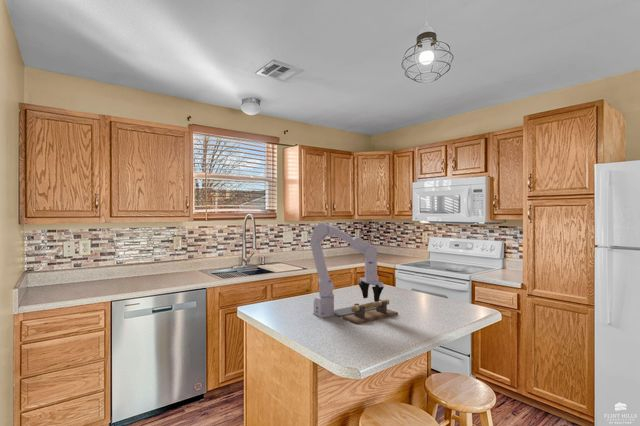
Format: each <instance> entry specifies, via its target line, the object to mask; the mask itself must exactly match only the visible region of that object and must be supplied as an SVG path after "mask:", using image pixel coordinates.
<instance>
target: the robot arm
mask: <svg viewBox="0 0 640 426" xmlns="http://www.w3.org/2000/svg"><path fill="white" fill-rule="evenodd" d="M327 236H328V237H331V236H333V237H337V238H339V239H340V240H342V241H344V242H346V243H348V244H349V247H350V248H352V249H353V250H355V251H357V252H358V253H360V254H364V256H365V258H364V260H365V261H364V277H359V279H358V281H359V283H358V286H359V288H360V290H361V293H362V296H363V297H362V298H363V299H368V298H369V288H370V285H371V289H372V292H373V300H374V301H373V302H378V301H379V299H380V297H381V294H382V293H383V292H382V291H383V290H384V282H382V281H381V280H379V279H378V261H377V260H378V257H377V256H378V249H377V247H376V246H375V245H374V244H371V243H370V242H367V241H365V240H364V239H362V237H361V236H359V237H358V236H354V237H352V236H351V235H349V234H348V233H346V232H344V231H343V230H341V229H339V228H337V227H336V226H333V225H331V224H328V223H327V222H322V223H318V224H317V225H315V227H314V228H313V230H312V234H311V238H310V239H309V240H310V241H309V245H310V248H311V252H312V257H313V260H314V264H315V269H316V273H317V276H318V277H317V278H318V296H317V297H315V298H314V300H313V312H312V315H315V316H316V317H319V318H321V319H323V318H328V317H333V316H335V314H334V310H335V295H334V293H333V291H334V290H335V284H334V282H333V281H332V280H331V276H330V275H329V272H328V268H327V263H326V259H325V255H324V252H323V247H322V244H321V243H322V242H323V241H324V239H325V238H326V237H327Z"/></svg>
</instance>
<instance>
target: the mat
mask: <svg viewBox="0 0 640 426" xmlns="http://www.w3.org/2000/svg"><path fill="white" fill-rule="evenodd" d="M351 307H352V306H347V307H342V308H337V309H334V314H335V315H334V316H336V317H338V318H343V316H347V315H351V314H354V312H352V310H351ZM374 309H376V307H374V308H369V309H365V311H370V310H374Z"/></svg>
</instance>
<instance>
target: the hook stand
mask: <svg viewBox="0 0 640 426" xmlns="http://www.w3.org/2000/svg"><path fill="white" fill-rule="evenodd" d="M379 301H381V299H380V298H379ZM356 305H360V304H359V303H354V305H353V306H356ZM398 315H399V313H398V312H397V311H395V310H392V309H388V305H387V301H383V302H382V306H379V307H376V309H374V310H370V311H365V306H364V305H363V306H360V311H355V312H354V314H351V315H347V316H342V319H343V320H345V321H348V322H350V323H352V324H354V325H360V324H365V323H368V322H373V321H378V320H381V319H385V318H389V317H393V316H398Z"/></svg>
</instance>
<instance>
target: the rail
mask: <svg viewBox="0 0 640 426" xmlns="http://www.w3.org/2000/svg"><path fill="white" fill-rule="evenodd" d="M380 300H381V299H380ZM383 301H387V306H388V305H390V300H389V299H382V300H381V301H378V302H375V301H373V302H368V303H367V302H366V303H362V304H359V305H356V306H354V305H352V306H350V307H351V310H352V312H355V311H360V306H363V305H364V306H365V309H369V308H374V307H379V306H382V302H383Z"/></svg>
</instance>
